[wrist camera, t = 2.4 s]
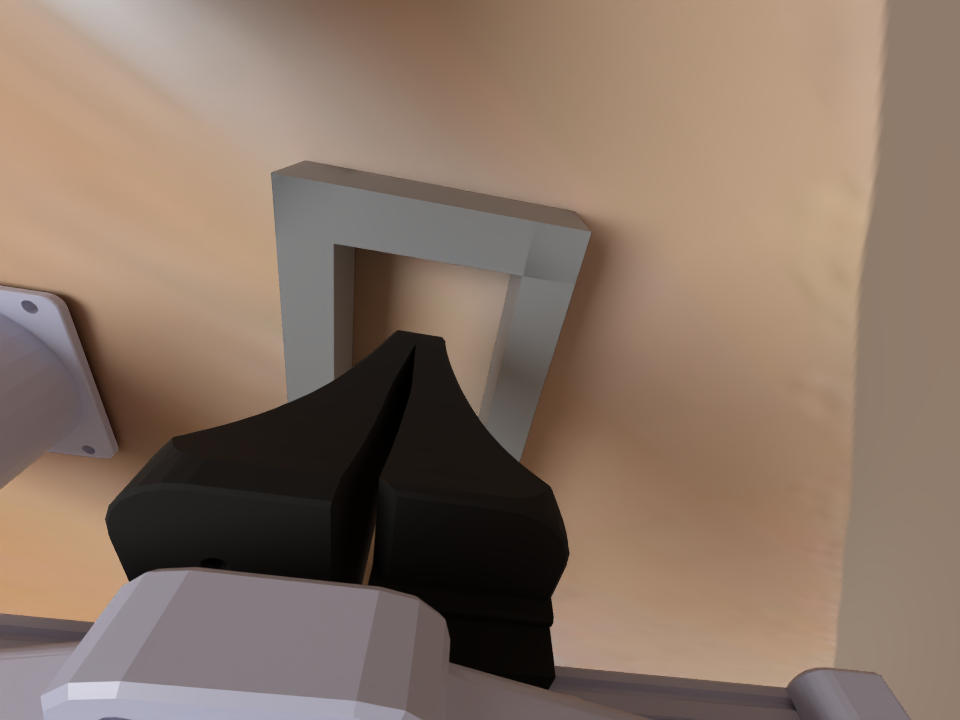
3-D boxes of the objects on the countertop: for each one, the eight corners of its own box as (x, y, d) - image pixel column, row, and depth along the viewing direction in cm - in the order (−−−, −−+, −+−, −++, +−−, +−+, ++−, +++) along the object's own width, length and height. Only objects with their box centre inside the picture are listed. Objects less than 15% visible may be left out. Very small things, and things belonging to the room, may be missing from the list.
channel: (320, 608, 27) (306, 652, 25) (305, 160, 13) (271, 172, 11) (457, 621, 27) (455, 665, 25) (574, 211, 14) (591, 231, 12)
